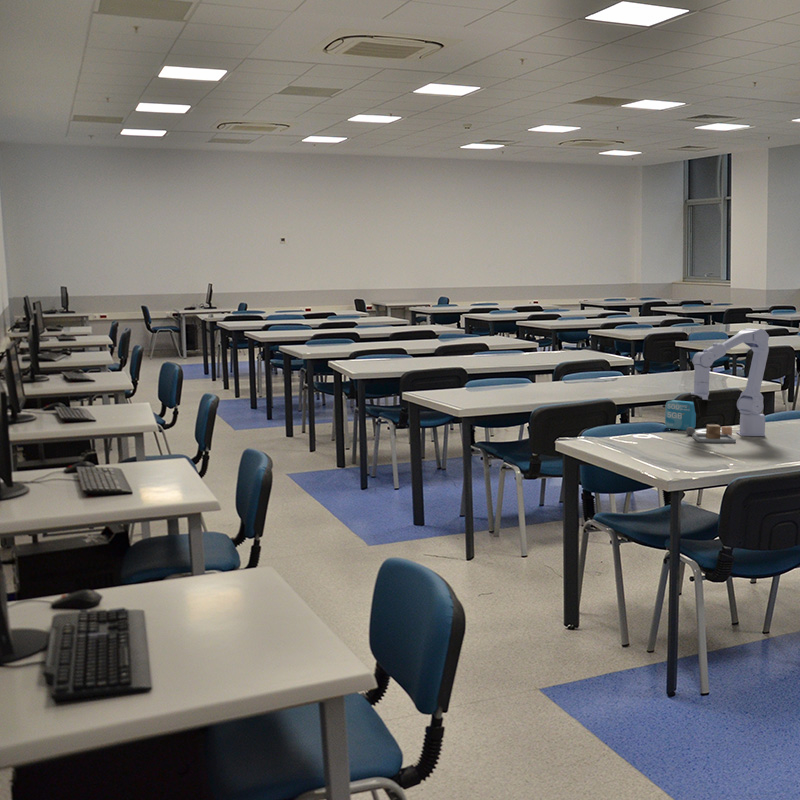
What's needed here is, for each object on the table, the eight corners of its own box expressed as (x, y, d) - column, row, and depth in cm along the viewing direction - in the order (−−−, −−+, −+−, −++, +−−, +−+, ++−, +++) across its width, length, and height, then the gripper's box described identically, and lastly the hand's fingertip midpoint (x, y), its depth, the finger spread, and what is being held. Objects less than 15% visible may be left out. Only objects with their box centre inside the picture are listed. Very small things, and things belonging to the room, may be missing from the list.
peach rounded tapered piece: (730, 435, 343) (730, 426, 343) (732, 437, 340) (733, 427, 339) (720, 435, 344) (720, 426, 344) (722, 437, 340) (722, 427, 340)
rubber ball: (693, 434, 347) (694, 426, 347) (695, 436, 344) (695, 427, 343) (685, 434, 348) (685, 426, 347) (686, 435, 344) (686, 427, 344)
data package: (664, 427, 365) (665, 400, 364) (669, 426, 368) (670, 399, 367) (690, 430, 357) (691, 403, 355) (695, 429, 360) (696, 402, 358)
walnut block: (717, 438, 336) (718, 424, 335) (720, 440, 331) (720, 426, 331) (705, 437, 337) (706, 424, 336) (708, 439, 332) (708, 426, 331)
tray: (728, 437, 339) (728, 434, 339) (735, 443, 327) (735, 439, 327) (692, 437, 341) (692, 433, 341) (698, 442, 329) (698, 438, 329)
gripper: (687, 379, 344) (686, 412, 346) (695, 383, 330) (694, 417, 332) (705, 380, 343) (704, 412, 345) (713, 383, 329) (712, 417, 331)
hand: (700, 415), depth 338 cm, fingers open, 7 cm apart
